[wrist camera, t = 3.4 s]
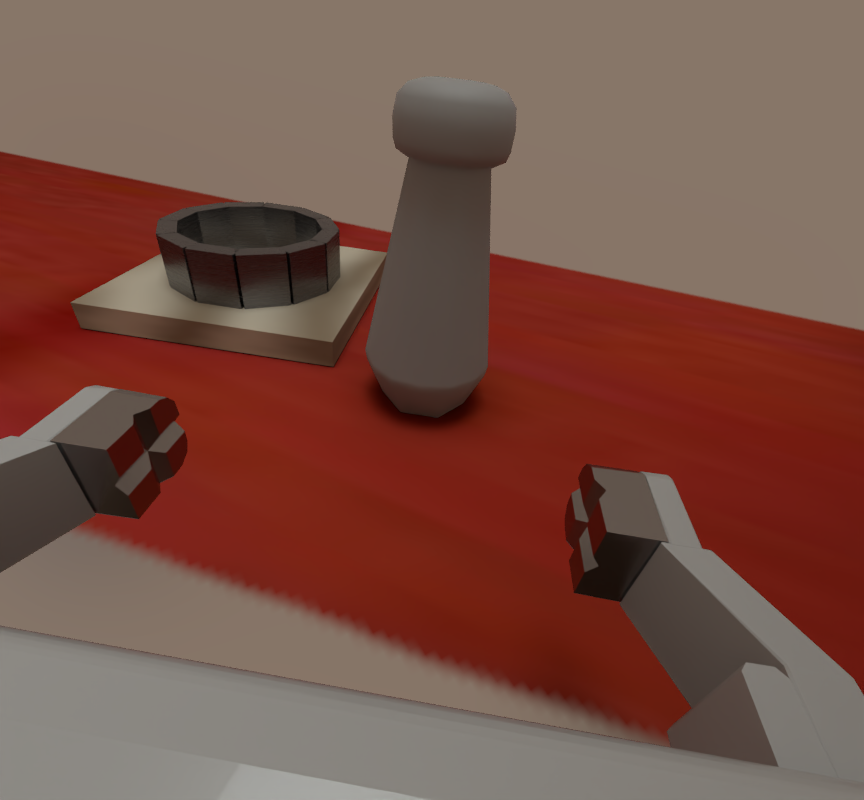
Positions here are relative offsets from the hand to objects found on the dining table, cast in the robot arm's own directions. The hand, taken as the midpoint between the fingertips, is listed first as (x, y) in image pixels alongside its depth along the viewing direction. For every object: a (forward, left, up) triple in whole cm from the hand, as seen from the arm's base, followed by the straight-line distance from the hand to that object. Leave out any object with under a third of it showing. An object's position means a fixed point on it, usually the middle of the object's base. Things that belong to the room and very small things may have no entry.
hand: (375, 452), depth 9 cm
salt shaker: (0, -12, -7) cm, 14 cm away
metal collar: (+12, -20, -5) cm, 24 cm away
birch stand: (+12, -20, -7) cm, 24 cm away
